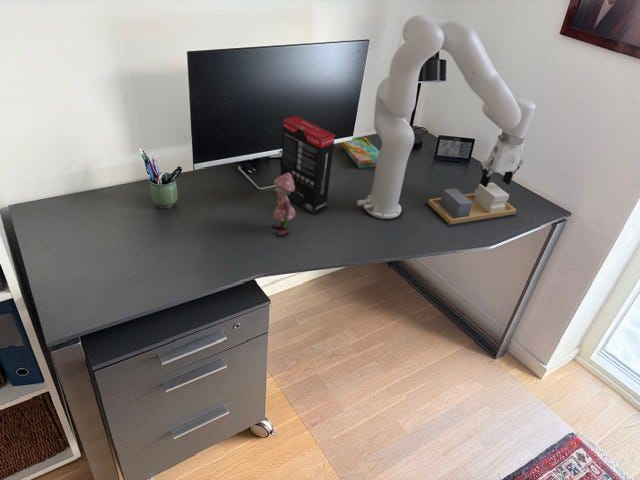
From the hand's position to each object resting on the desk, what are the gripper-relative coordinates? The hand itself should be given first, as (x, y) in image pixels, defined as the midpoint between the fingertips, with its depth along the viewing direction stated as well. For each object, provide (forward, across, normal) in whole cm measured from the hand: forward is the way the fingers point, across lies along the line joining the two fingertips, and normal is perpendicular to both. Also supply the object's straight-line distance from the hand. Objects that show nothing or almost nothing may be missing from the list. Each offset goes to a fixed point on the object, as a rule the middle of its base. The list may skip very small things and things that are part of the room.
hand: (494, 183), depth 170 cm
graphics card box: (+12, -63, +19) cm, 66 cm away
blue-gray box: (+9, -14, 0) cm, 17 cm away
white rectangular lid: (+4, +1, 0) cm, 4 cm away
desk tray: (+10, -7, 0) cm, 12 cm away
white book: (+9, +1, 0) cm, 9 cm away
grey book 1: (+6, -14, 0) cm, 16 cm away
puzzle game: (+11, -28, +46) cm, 55 cm away
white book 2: (+7, 0, 0) cm, 7 cm away
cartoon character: (+12, -75, +4) cm, 76 cm away
